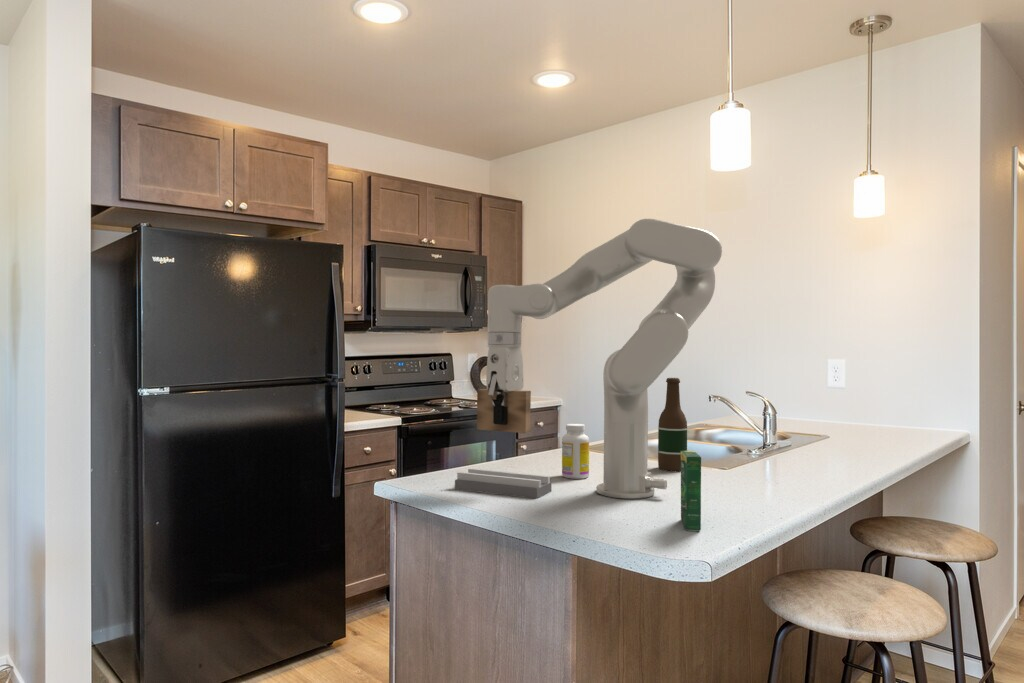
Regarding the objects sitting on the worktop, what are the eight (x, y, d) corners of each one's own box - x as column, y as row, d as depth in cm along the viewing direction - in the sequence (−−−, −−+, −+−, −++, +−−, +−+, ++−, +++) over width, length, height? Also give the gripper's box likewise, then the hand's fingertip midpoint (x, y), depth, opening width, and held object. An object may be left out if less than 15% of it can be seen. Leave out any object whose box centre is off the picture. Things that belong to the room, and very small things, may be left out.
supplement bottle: (588, 474, 168) (589, 423, 168) (589, 480, 162) (589, 426, 162) (562, 473, 169) (562, 422, 169) (561, 479, 162) (561, 425, 162)
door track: (551, 491, 149) (551, 475, 149) (537, 498, 141) (537, 481, 141) (472, 482, 157) (472, 467, 157) (454, 489, 150) (455, 473, 150)
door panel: (530, 431, 148) (530, 390, 148) (525, 433, 146) (526, 391, 146) (482, 428, 153) (482, 388, 153) (476, 429, 151) (477, 389, 151)
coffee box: (679, 519, 126) (679, 449, 126) (695, 519, 125) (695, 449, 126) (684, 530, 118) (685, 456, 118) (701, 531, 117) (702, 456, 118)
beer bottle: (652, 466, 180) (652, 377, 180) (678, 466, 182) (679, 377, 182) (665, 472, 172) (666, 378, 172) (693, 471, 174) (693, 378, 174)
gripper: (503, 340, 141) (502, 428, 141) (534, 341, 155) (533, 421, 155) (472, 340, 144) (471, 426, 144) (505, 341, 158) (504, 419, 158)
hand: (503, 422), depth 149 cm, fingers closed on door panel, 2 cm apart
